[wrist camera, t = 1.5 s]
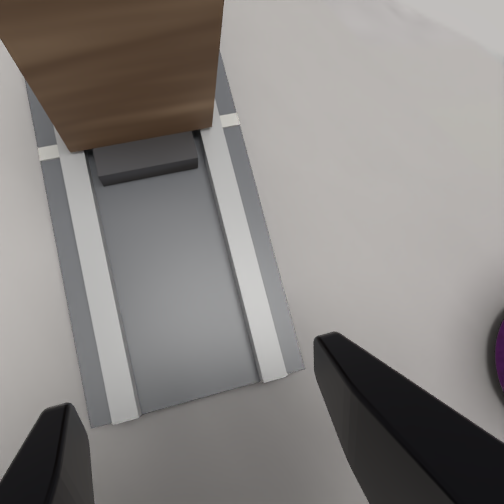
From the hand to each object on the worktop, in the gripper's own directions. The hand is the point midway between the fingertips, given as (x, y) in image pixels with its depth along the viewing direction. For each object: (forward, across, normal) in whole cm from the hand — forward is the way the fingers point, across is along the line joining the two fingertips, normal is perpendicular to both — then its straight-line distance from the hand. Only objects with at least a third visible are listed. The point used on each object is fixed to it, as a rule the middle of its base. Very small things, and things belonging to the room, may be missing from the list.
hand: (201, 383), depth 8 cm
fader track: (+16, 0, +4) cm, 16 cm away
